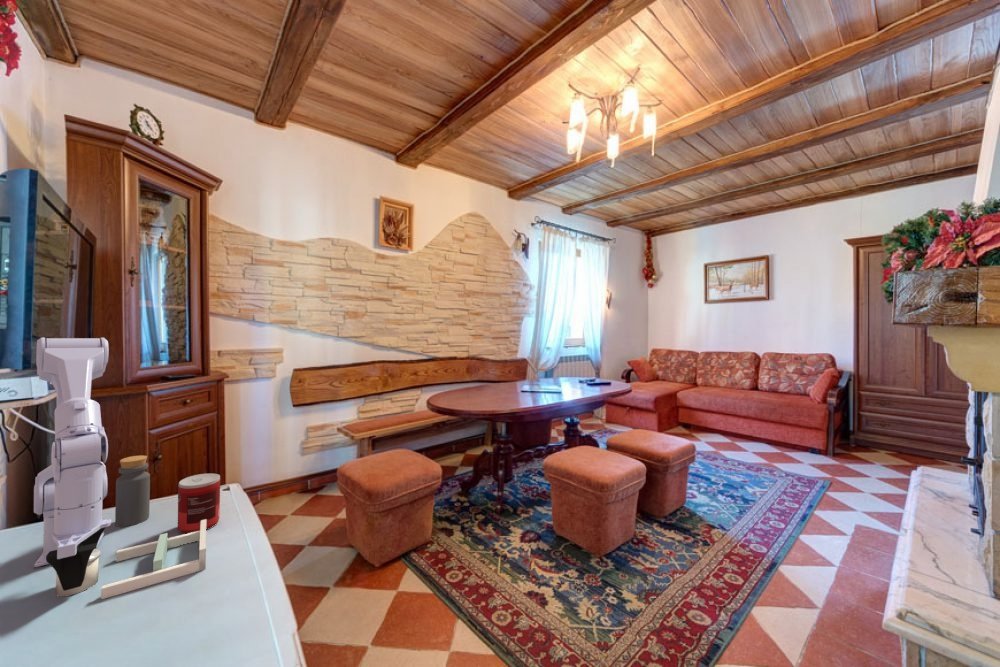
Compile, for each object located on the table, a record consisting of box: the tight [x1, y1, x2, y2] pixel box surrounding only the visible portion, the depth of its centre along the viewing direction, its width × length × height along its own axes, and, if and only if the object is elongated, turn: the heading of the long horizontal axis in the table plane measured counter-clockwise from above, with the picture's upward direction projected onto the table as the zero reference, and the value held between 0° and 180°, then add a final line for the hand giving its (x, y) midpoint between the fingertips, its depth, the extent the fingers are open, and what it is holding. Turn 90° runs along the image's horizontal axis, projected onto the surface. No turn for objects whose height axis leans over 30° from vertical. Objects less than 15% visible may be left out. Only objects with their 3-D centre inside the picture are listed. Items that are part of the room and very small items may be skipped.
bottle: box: [114, 455, 151, 528], centre depth 90 cm, size 6×6×15 cm
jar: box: [55, 548, 101, 597], centre depth 67 cm, size 5×5×5 cm
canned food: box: [177, 473, 221, 534], centre depth 88 cm, size 8×8×11 cm
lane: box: [100, 519, 207, 600], centre depth 74 cm, size 14×14×4 cm
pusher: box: [152, 532, 169, 572], centre depth 74 cm, size 11×1×3 cm, turn 38°
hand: (77, 578), depth 67 cm, fingers closed on jar, 5 cm apart
